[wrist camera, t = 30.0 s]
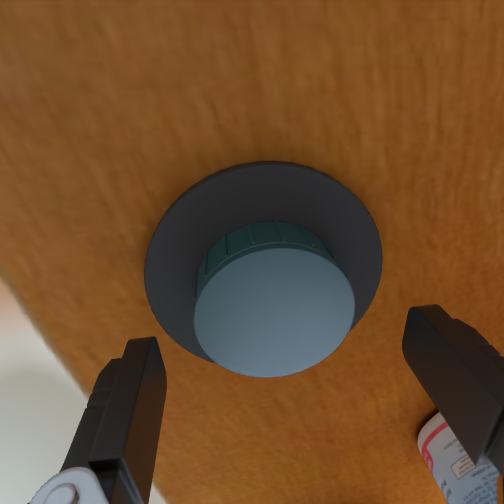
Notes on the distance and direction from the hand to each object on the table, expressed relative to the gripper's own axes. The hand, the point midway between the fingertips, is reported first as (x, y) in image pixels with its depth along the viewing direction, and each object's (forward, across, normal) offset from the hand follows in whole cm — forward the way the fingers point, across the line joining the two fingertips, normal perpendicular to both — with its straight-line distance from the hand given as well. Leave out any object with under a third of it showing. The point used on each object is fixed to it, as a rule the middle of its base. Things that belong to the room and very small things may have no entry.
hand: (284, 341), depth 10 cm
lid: (+2, 0, 0) cm, 2 cm away
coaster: (+4, 0, 0) cm, 4 cm away
